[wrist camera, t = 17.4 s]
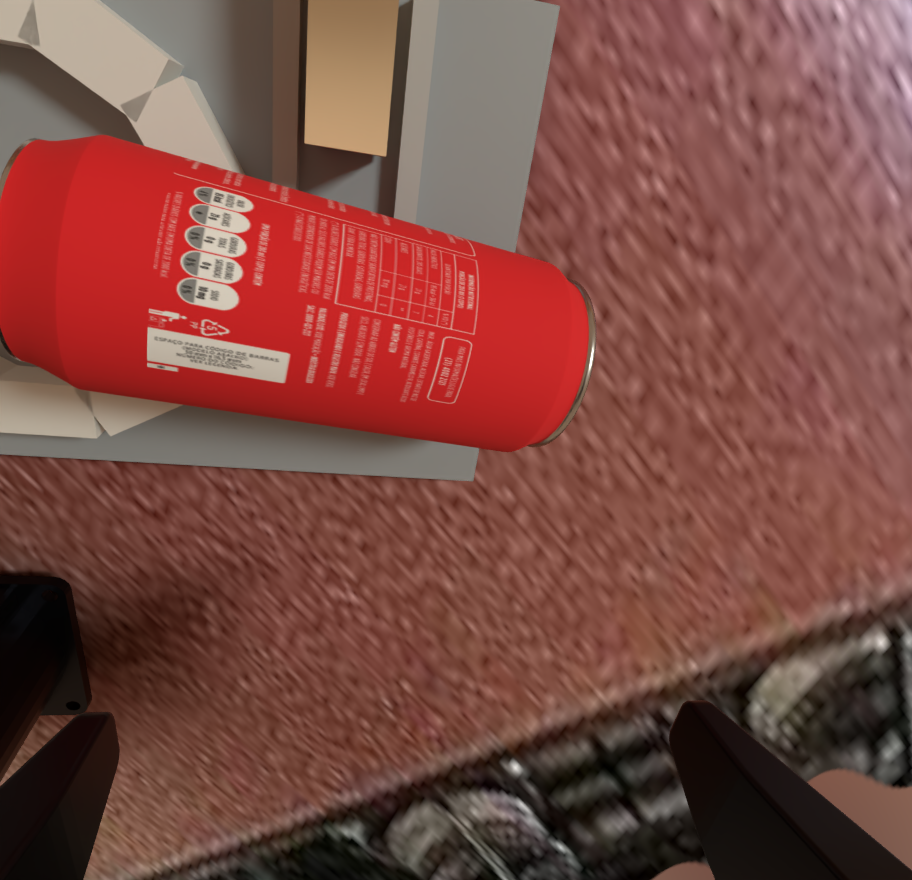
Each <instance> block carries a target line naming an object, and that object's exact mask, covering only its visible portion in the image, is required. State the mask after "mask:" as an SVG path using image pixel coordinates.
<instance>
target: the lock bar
mask: <svg viewBox="0 0 912 880" xmlns="http://www.w3.org/2000/svg"><path fill="white" fill-rule="evenodd" d="M398 7H399V0H308V27H307V65H306V104H305V142H304V143H306V144H310V145H314V146H320V147H326V148H332V149H338V150H345V151H351V152H357V153H363V154H369V155H375V156H381V157H386V153H387V141H388V129H389V117H390V105H391V93H392V80H393V68H394V56H395V44H396V32H397V20H398Z"/></svg>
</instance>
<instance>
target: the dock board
mask: <svg viewBox="0 0 912 880" xmlns="http://www.w3.org/2000/svg"><path fill="white" fill-rule="evenodd" d="M559 8H560V6H557V5H553V4H548V3H544V2H539V1H535V0H399V7H398V20H397V32H396V44H395V56H394V68H393V80H392V93H391V105H390V117H389V129H388V141H387V153H386V157H381V156H375V155H369V154H363V153H357V152H351V151H345V150H338V149H332V148H326V147H320V146H314V145H310V144H306V143H304V142H305V104H306V65H307V27H308V0H0V178H1V176H2V173H3V171H4V169H5V166H6V164H7V162H8V161H9V159H10V157H11V156H12V154H13V153H14V151H15V150H16V149H17V148H18V147H19V145H21V144H22V143H23V142H25V141H26V140H28V139H32V138H38V139H42V140H47V141H60V140H69V139H77V138H84V137H90V136H96V135H108V136H111V137H115V138H118V139H122V140H125V141H129V142H132V143H136V144H139V145H143V146H146V147H150V148H153V149H157V150H160V151H164V152H167V153H171V154H174V155H177V156H181V157H184V158H188V159H191V160H195V161H198V162H202V163H205V164H209V165H212V166H216V167H219V168H222V169H226V170H229V171H233V172H236V173H240V174H243V175H247V176H250V177H254V178H257V179H261V180H264V181H268V182H271V183H274V184H278V185H281V186H285V187H288V188H292V189H295V190H299V191H302V192H306V193H309V194H313V195H316V196H319V197H323V198H326V199H330V200H333V201H337V202H340V203H344V204H347V205H351V206H354V207H358V208H361V209H364V210H368V211H371V212H375V213H378V214H382V215H385V216H389V217H392V218H396V219H399V220H403V221H406V222H410V223H413V224H416V225H420V226H423V227H427V228H430V229H434V230H437V231H441V232H444V233H448V234H451V235H455V236H458V237H461V238H465V239H468V240H472V241H475V242H479V243H482V244H486V245H489V246H493V247H496V248H500V249H503V250H507V251H510V252H513V253H515V249H516V244H517V238H518V233H519V227H520V222H521V216H522V211H523V206H524V200H525V195H526V189H527V184H528V178H529V173H530V167H531V162H532V156H533V151H534V145H535V140H536V134H537V129H538V123H539V118H540V112H541V107H542V101H543V96H544V91H545V85H546V80H547V74H548V69H549V63H550V58H551V52H552V47H553V41H554V36H555V30H556V25H557V19H558V14H559ZM478 452H479V448H475V447H468V446H461V445H454V444H447V443H440V442H434V441H427V440H420V439H413V438H406V437H399V436H393V435H386V434H379V433H372V432H365V431H359V430H352V429H345V428H338V427H331V426H324V425H318V424H311V423H304V422H297V421H290V420H283V419H277V418H270V417H263V416H256V415H249V414H243V413H236V412H229V411H222V410H215V409H208V408H202V407H195V406H188V405H181V404H174V403H167V402H161V401H154V400H147V399H140V398H133V397H127V396H120V395H113V394H106V393H99V392H93V391H86V390H80V389H77V388H75V387H73V386H72V385H70V384H68V383H67V382H65V381H63V380H62V379H60V378H58V377H56V376H55V375H53V374H51V373H49V372H48V371H46V370H44V369H42V368H40V367H38V366H36V365H34V364H31V363H28V362H23V361H19V360H16V359H14V358H13V357H12V356H11V355H9V353H8V352H7V351H6V350H5V348H4V347H3V345H2V343H1V341H0V454H5V455H23V456H40V457H58V458H75V459H93V460H110V461H128V462H145V463H163V464H180V465H198V466H215V467H232V468H250V469H267V470H285V471H302V472H320V473H337V474H355V475H372V476H390V477H407V478H425V479H442V480H460V481H473V479H474V474H475V468H476V463H477V457H478Z"/></svg>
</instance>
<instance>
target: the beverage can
mask: <svg viewBox="0 0 912 880" xmlns="http://www.w3.org/2000/svg"><path fill="white" fill-rule="evenodd" d="M0 341H1V343H2V345H3V347H4V348H5V350H6V351H7V352H8V353H9V355H11V356H12V357H13V358H14V359H16V360H19V361H23V362H28V363H31V364H34V365H36V366H38V367H40V368H42V369H44V370H46V371H48V372H49V373H51V374H53V375H55V376H56V377H58V378H60V379H62V380H63V381H65V382H67V383H68V384H70V385H72V386H73V387H75V388H77V389H80V390H86V391H93V392H99V393H106V394H113V395H120V396H127V397H133V398H140V399H147V400H154V401H161V402H167V403H174V404H181V405H188V406H195V407H202V408H208V409H215V410H222V411H229V412H236V413H243V414H249V415H256V416H263V417H270V418H277V419H283V420H290V421H297V422H304V423H311V424H318V425H324V426H331V427H338V428H345V429H352V430H359V431H365V432H372V433H379V434H386V435H393V436H399V437H406V438H413V439H420V440H427V441H434V442H440V443H447V444H454V445H461V446H468V447H475V448H481V449H488V450H495V451H502V452H512V451H516V450H519V449H521V448H523V447H525V446H529V447H541V446H544V445H547V444H549V443H550V442H552V441H553V440H555V439H556V438H557V437H558V436H559V435H560V434H561V433H562V432H563V431H564V430H565V429H566V427H567V426H568V425H569V423H570V422H571V420H572V419H573V417H574V416H575V414H576V412H577V410H578V408H579V406H580V404H581V402H582V400H583V397H584V395H585V392H586V389H587V387H588V383H589V380H590V377H591V373H592V368H593V363H594V357H595V349H596V320H595V313H594V309H593V305H592V302H591V299H590V297H589V295H588V293H587V291H586V290H585V289H584V287H583V286H582V285H580V284H579V283H578V282H576V281H574V280H572V279H568V278H565V276H564V275H563V274H562V273H561V271H560V270H559V269H558V268H557V267H555V266H554V265H552V264H550V263H548V262H545V261H541V260H538V259H534V258H531V257H527V256H524V255H520V254H517V253H513V252H510V251H507V250H503V249H500V248H496V247H493V246H489V245H486V244H482V243H479V242H475V241H472V240H468V239H465V238H461V237H458V236H455V235H451V234H448V233H444V232H441V231H437V230H434V229H430V228H427V227H423V226H420V225H416V224H413V223H410V222H406V221H403V220H399V219H396V218H392V217H389V216H385V215H382V214H378V213H375V212H371V211H368V210H364V209H361V208H358V207H354V206H351V205H347V204H344V203H340V202H337V201H333V200H330V199H326V198H323V197H319V196H316V195H313V194H309V193H306V192H302V191H299V190H295V189H292V188H288V187H285V186H281V185H278V184H274V183H271V182H268V181H264V180H261V179H257V178H254V177H250V176H247V175H243V174H240V173H236V172H233V171H229V170H226V169H222V168H219V167H216V166H212V165H209V164H205V163H202V162H198V161H195V160H191V159H188V158H184V157H181V156H177V155H174V154H171V153H167V152H164V151H160V150H157V149H153V148H150V147H146V146H143V145H139V144H136V143H132V142H129V141H125V140H122V139H118V138H115V137H111V136H108V135H96V136H90V137H84V138H77V139H69V140H60V141H47V140H42V139H38V138H32V139H28V140H26V141H25V142H23V143H22V144H21V145H19V147H18V148H17V149H16V150H15V151H14V153H13V154H12V156H11V157H10V159H9V161H8V162H7V164H6V166H5V169H4V171H3V173H2V176H1V178H0Z"/></svg>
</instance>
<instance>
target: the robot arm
mask: <svg viewBox="0 0 912 880" xmlns="http://www.w3.org/2000/svg"><path fill="white" fill-rule="evenodd" d="M49 590H51V591H54V592H55V593H57V594H55V593H52V592H50V591H49ZM91 700H92V695H91V689H90V684H89V679H88V674H87V668H86V663H85V658H84V653H83V647H82V642H81V637H80V631H79V626H78V621H77V616H76V610H75V605H74V600H73V595H72V589H71V587H70V585H69V583H67V582H66V581H65V580H63V579H61V578H57V577H34V576H0V782H1V780H2V778H3V777H4V775H5V773H6V772H7V770H8V768H9V767H10V765H11V763H12V761H13V760H14V758H15V756H16V755H17V753H18V751H19V750H20V748H21V746H22V745H23V743H24V741H25V739H26V738H27V736H28V734H29V733H30V731H31V729H32V728H33V726H34V724H35V723H36V721H37V719H38V718H39V716H40V715H76V714H79V715H77V716H76V717H75V718H73V719H72V720H71V721H70V722H69V723H68V724H67V725H66V726H65V727H64V728H63V729H62V730H60V731H59V732H58V733H57V734H56V735H55V736H54V737H53V738H52V739H51V740H50V741H49V742H48V743H46V744H45V745H44V746H43V747H42V748H41V749H40V750H39V751H38V752H37V753H36V754H35V755H34V756H33V757H31V758H30V759H29V760H28V761H27V762H26V763H25V764H24V765H23V766H22V767H21V768H20V769H19V770H17V771H16V772H15V773H14V774H13V775H12V776H11V777H10V778H9V779H8V780H7V781H6V782H5V783H3V784H2V785H1V786H0V880H83V878H84V875H85V872H86V869H87V866H88V862H89V859H90V856H91V852H92V849H93V846H94V842H95V839H96V836H97V832H98V829H99V826H100V822H101V819H102V816H103V812H104V809H105V806H106V802H107V799H108V796H109V793H110V789H111V786H112V783H113V779H114V776H115V773H116V769H117V766H118V761H119V751H120V750H119V743H118V737H117V731H116V725H115V719H114V716H113V715H112V714H111V713H110V712H85V711H86V710H87V708H88V706H89V704H90V702H91ZM83 712H85V713H83ZM669 742H670V747H671V751H672V754H673V757H674V761H675V764H676V767H677V770H678V773H679V777H680V780H681V783H682V786H683V789H684V793H685V796H686V799H687V802H688V805H689V809H690V812H691V815H692V818H693V821H694V825H695V828H696V831H697V834H698V837H699V840H700V842H701V845H702V848H703V850H704V853H705V856H706V858H707V861H708V863H709V866H710V868H711V870H712V873H713V875H714V878H715V880H912V870H911V869H910V868H908V867H907V866H906V865H905V864H904V863H902V862H901V861H900V860H899V859H898V858H896V857H895V856H894V855H893V854H892V853H890V852H889V851H888V850H887V849H886V848H884V847H883V846H882V845H881V844H880V843H878V842H877V841H876V840H875V839H874V838H872V837H871V836H870V835H868V833H866V832H865V831H864V830H863V829H862V828H861V827H859V826H858V825H857V824H856V823H854V822H853V821H852V820H851V819H850V818H848V817H847V816H846V815H845V814H844V813H843V812H841V811H840V810H839V809H838V808H836V807H835V806H834V805H833V804H832V803H830V802H829V801H828V800H827V799H826V798H825V797H823V796H822V795H821V794H819V792H817V791H816V790H815V789H814V788H813V787H811V786H810V785H809V784H808V783H807V782H805V781H804V780H803V779H802V778H801V777H799V776H798V775H797V774H796V773H795V772H794V771H792V770H791V769H790V768H789V767H788V766H786V765H785V764H784V763H783V762H782V761H780V760H779V759H778V758H777V757H776V756H774V755H773V754H772V753H771V752H770V751H768V750H767V749H766V748H765V747H764V746H762V745H761V744H760V743H759V742H758V741H756V740H755V739H754V738H753V737H752V736H750V735H749V734H748V733H747V732H746V731H744V730H743V729H742V728H741V727H740V726H738V725H737V724H736V723H735V722H734V721H732V720H731V719H730V718H729V717H728V716H726V715H725V714H724V713H723V712H722V711H721V710H719V709H718V708H717V707H716V706H715V705H713V704H712V703H710V702H708V701H686V702H685V703H683V704H682V706H681V708H680V710H679V713H678V715H677V717H676V719H675V721H674V723H673V726H672V728H671V730H670V735H669Z"/></svg>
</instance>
